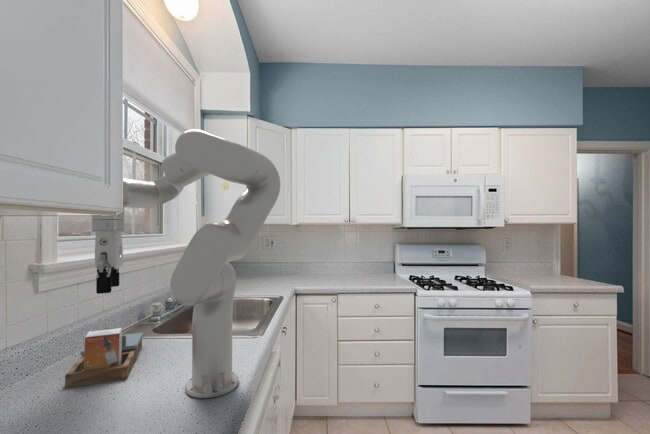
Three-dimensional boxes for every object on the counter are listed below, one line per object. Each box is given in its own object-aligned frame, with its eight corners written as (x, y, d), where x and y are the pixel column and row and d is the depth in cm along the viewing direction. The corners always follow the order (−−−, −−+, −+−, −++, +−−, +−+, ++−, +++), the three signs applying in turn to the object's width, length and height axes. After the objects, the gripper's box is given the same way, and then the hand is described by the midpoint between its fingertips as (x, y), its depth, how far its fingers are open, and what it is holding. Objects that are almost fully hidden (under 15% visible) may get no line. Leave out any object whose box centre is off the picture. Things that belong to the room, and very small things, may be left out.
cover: (136, 348, 100) (136, 334, 100) (80, 355, 95) (80, 340, 95) (143, 335, 111) (143, 323, 111) (93, 340, 106) (93, 328, 106)
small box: (83, 378, 87) (83, 337, 87) (87, 369, 92) (88, 330, 92) (119, 372, 90) (119, 333, 90) (122, 364, 95) (122, 327, 95)
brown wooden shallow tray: (126, 378, 88) (127, 366, 88) (65, 387, 83) (65, 375, 83) (141, 346, 111) (141, 337, 111) (93, 352, 106) (94, 342, 106)
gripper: (117, 226, 85) (117, 294, 85) (129, 226, 101) (130, 283, 101) (81, 227, 82) (82, 297, 82) (100, 226, 99) (100, 285, 98)
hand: (108, 289), depth 92 cm, fingers open, 9 cm apart
